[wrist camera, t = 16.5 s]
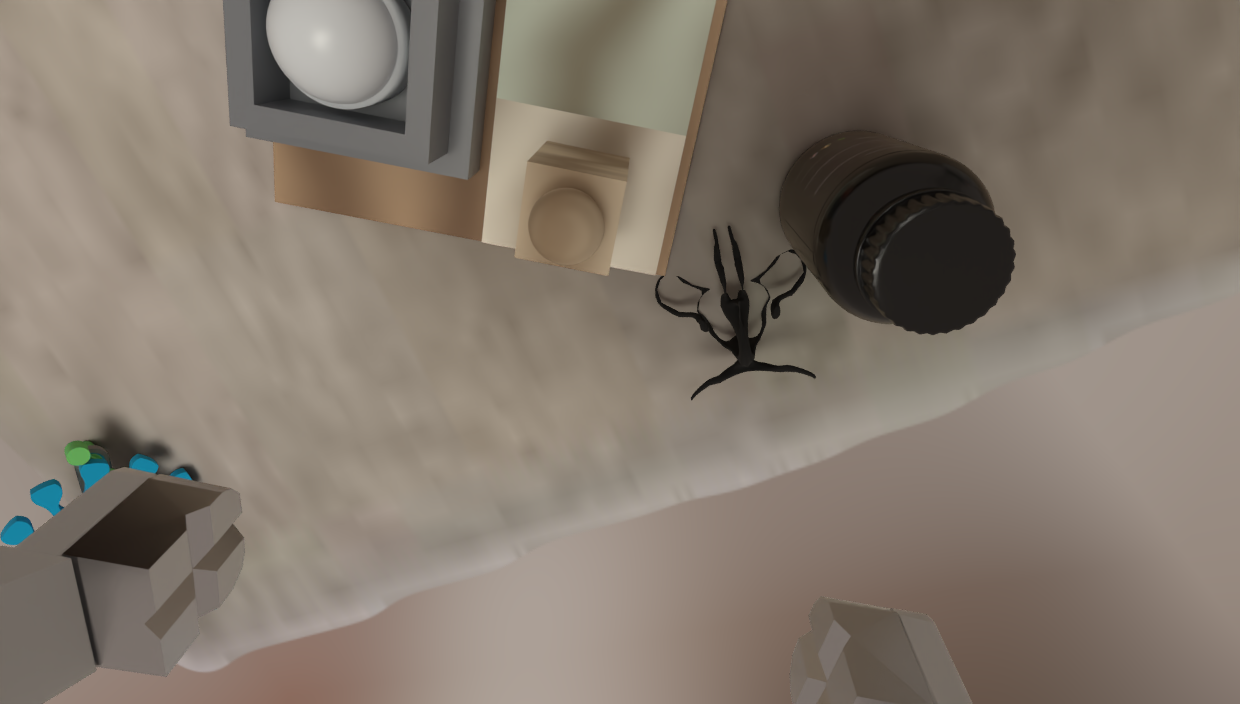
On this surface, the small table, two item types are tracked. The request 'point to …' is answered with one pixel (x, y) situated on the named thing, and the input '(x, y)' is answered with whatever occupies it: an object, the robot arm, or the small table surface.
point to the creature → (738, 319)
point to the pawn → (571, 207)
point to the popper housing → (389, 131)
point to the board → (551, 125)
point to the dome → (342, 48)
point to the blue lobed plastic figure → (89, 470)
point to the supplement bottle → (896, 232)
